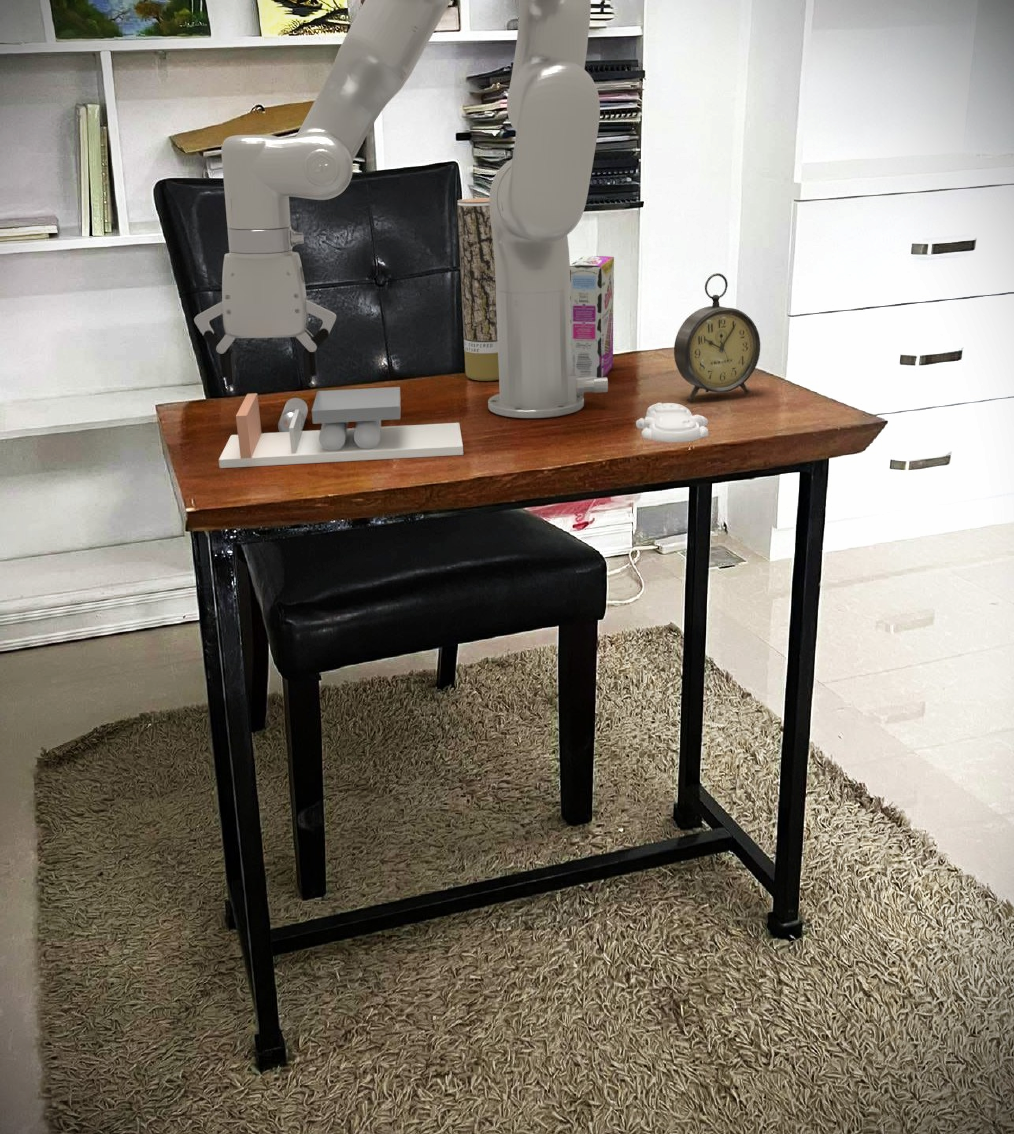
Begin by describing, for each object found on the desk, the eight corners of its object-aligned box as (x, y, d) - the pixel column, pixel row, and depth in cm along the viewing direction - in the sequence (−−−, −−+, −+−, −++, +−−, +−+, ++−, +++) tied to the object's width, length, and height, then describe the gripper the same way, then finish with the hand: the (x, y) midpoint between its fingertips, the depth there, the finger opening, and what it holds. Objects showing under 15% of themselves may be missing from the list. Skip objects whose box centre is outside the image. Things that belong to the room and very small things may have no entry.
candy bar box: (602, 384, 177) (601, 265, 171) (568, 383, 178) (565, 265, 172) (615, 367, 187) (615, 254, 181) (582, 366, 188) (580, 255, 182)
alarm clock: (686, 405, 163) (689, 279, 158) (668, 397, 168) (669, 274, 162) (760, 396, 167) (765, 272, 161) (740, 388, 172) (744, 267, 166)
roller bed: (459, 430, 156) (457, 383, 154) (463, 454, 146) (460, 404, 143) (232, 442, 154) (226, 395, 152) (219, 468, 144) (213, 417, 142)
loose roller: (291, 424, 165) (311, 414, 164) (285, 442, 156) (306, 432, 156) (280, 404, 163) (300, 394, 163) (273, 421, 155) (295, 410, 155)
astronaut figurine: (707, 419, 158) (707, 395, 157) (709, 445, 147) (709, 420, 146) (637, 419, 159) (637, 396, 158) (634, 445, 148) (633, 420, 147)
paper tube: (506, 382, 180) (500, 201, 171) (460, 382, 181) (452, 202, 172) (516, 372, 186) (510, 197, 177) (471, 372, 187) (463, 198, 178)
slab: (400, 398, 153) (399, 386, 153) (400, 419, 144) (399, 406, 143) (318, 403, 153) (317, 391, 152) (312, 423, 143) (311, 411, 143)
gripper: (333, 238, 156) (340, 374, 162) (192, 240, 155) (205, 377, 161) (330, 245, 149) (337, 387, 155) (182, 247, 148) (195, 390, 154)
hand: (270, 382), depth 158 cm, fingers open, 9 cm apart
